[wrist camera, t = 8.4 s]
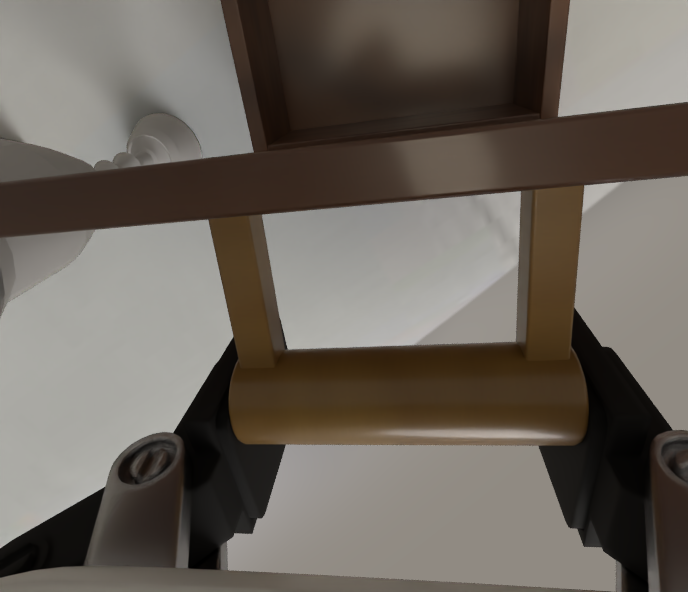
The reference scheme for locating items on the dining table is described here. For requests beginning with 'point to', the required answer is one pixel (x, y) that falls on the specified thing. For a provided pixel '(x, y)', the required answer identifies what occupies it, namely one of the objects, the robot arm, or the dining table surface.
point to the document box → (392, 66)
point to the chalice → (35, 162)
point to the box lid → (377, 188)
